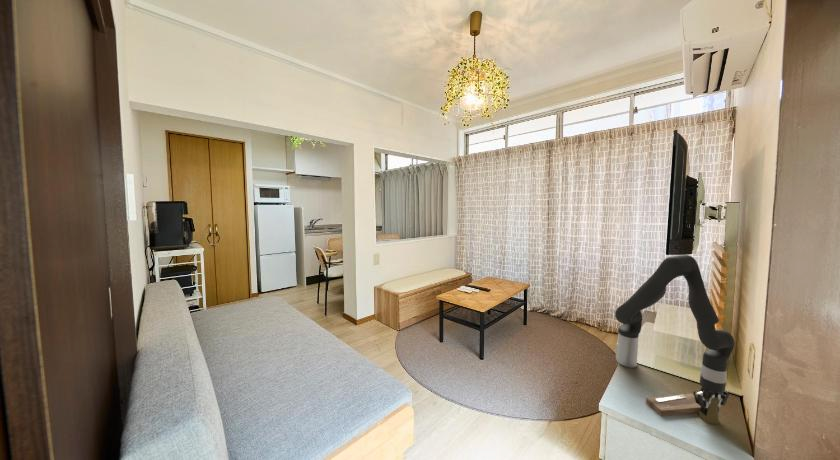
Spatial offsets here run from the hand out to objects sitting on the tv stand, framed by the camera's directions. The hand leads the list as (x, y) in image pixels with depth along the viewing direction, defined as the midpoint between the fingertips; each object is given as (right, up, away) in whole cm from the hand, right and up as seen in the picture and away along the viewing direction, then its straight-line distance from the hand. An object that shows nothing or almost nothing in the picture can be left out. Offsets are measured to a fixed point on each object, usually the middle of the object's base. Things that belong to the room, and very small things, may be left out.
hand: (709, 413), depth 122 cm
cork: (0, -2, 0) cm, 2 cm away
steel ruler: (-9, +1, +9) cm, 12 cm away
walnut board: (-7, -2, +7) cm, 10 cm away
